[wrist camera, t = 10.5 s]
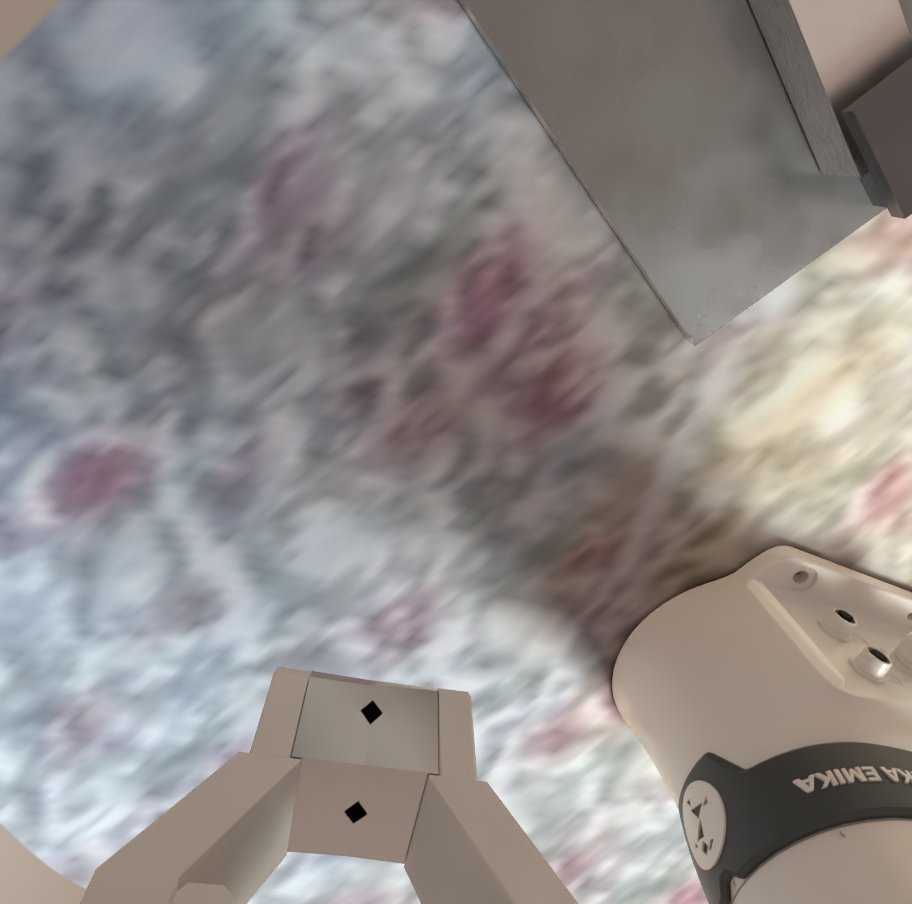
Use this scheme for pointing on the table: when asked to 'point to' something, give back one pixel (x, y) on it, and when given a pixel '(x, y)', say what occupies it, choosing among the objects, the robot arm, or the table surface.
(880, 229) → the table surface
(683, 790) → the robot arm
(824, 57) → the link
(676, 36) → the pintle base
